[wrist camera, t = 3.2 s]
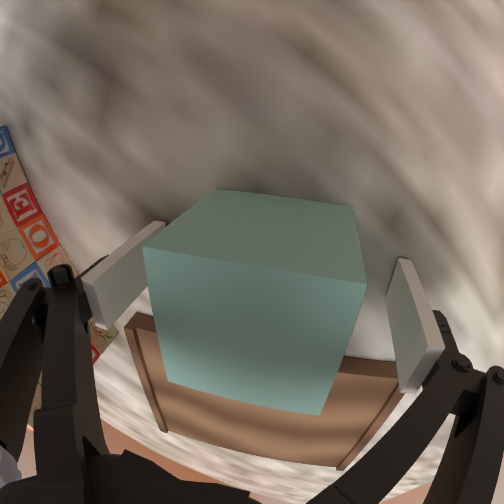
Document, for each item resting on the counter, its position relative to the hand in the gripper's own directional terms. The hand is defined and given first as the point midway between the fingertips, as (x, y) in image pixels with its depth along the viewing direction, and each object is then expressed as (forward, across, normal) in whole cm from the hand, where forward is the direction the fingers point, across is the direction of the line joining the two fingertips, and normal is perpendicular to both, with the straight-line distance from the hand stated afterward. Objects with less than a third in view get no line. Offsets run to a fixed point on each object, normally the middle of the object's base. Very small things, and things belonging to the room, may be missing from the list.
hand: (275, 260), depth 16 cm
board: (0, 0, -14) cm, 15 cm away
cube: (0, 0, 0) cm, 0 cm away
